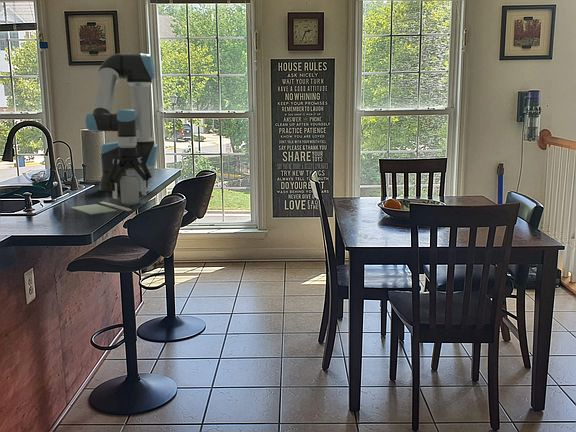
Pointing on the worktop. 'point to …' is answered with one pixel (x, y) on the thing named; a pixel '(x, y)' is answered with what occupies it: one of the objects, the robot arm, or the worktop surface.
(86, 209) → the mat
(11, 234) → the worktop surface
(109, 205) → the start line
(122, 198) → the can
